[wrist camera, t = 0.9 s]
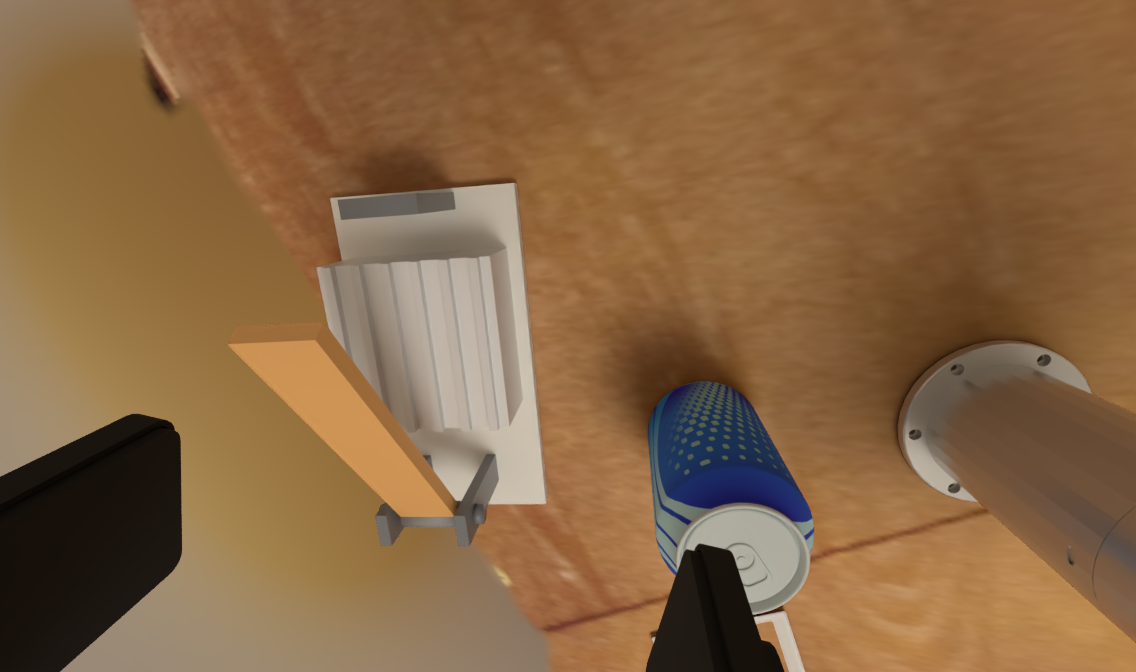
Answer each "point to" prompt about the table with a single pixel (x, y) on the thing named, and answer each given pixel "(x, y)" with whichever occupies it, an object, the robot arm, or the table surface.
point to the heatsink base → (469, 232)
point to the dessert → (782, 639)
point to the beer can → (727, 491)
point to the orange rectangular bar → (346, 415)
